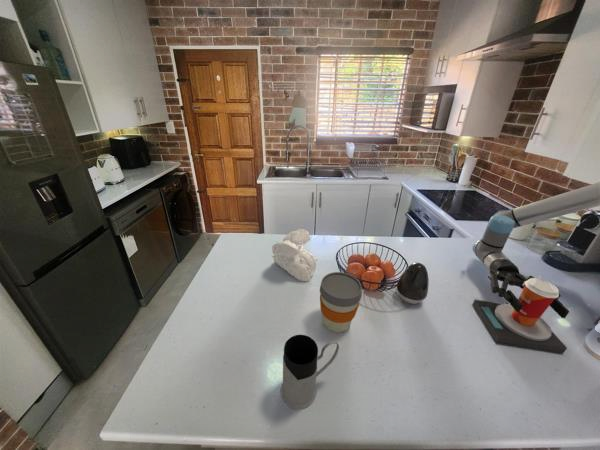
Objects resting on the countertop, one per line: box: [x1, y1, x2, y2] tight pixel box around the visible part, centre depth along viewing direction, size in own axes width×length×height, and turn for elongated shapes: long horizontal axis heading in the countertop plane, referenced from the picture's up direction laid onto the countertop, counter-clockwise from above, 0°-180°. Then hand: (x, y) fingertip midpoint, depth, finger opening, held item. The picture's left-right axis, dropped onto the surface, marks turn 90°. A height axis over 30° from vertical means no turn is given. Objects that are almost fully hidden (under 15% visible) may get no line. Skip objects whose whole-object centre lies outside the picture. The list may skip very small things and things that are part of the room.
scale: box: [472, 299, 568, 354], centre depth 80 cm, size 18×16×4 cm
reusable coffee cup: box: [319, 271, 363, 333], centre depth 77 cm, size 13×13×15 cm
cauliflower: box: [271, 228, 318, 282], centre depth 102 cm, size 19×20×20 cm
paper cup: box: [512, 277, 560, 327], centre depth 76 cm, size 8×8×14 cm
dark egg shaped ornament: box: [396, 262, 430, 305], centre depth 87 cm, size 10×10×15 cm
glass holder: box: [280, 334, 340, 411], centre depth 58 cm, size 9×14×15 cm, turn 112°
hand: (542, 311), depth 72 cm, fingers open, 11 cm apart
